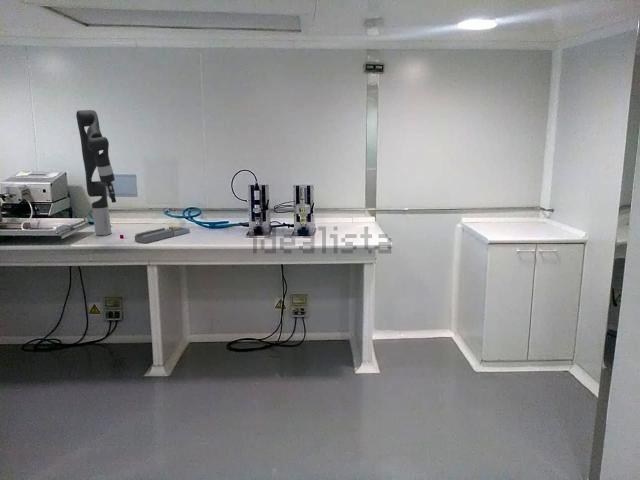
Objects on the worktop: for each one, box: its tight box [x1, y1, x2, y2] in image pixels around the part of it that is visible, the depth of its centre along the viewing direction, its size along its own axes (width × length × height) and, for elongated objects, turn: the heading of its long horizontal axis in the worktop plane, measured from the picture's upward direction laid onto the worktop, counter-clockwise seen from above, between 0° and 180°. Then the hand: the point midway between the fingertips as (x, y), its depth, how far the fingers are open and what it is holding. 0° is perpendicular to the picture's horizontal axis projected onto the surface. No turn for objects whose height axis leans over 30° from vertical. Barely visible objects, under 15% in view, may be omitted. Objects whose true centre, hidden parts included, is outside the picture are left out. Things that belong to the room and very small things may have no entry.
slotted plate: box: [134, 227, 174, 244], centre depth 295 cm, size 20×10×4 cm, turn 146°
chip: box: [168, 225, 177, 232], centre depth 305 cm, size 4×4×3 cm
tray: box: [165, 226, 190, 237], centre depth 308 cm, size 12×11×2 cm
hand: (112, 200), depth 282 cm, fingers open, 8 cm apart
